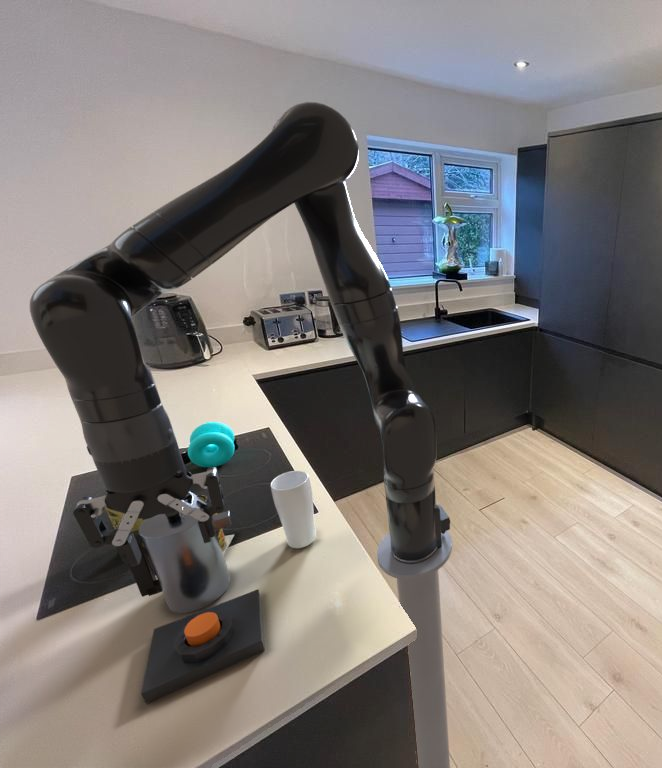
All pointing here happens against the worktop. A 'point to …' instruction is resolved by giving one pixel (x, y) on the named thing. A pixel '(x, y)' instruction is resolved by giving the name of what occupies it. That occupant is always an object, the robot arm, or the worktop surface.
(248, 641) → the black base plate
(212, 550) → the kettle
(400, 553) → the robot arm
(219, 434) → the turquoise yo-yo
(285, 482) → the drinking glass
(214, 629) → the button
